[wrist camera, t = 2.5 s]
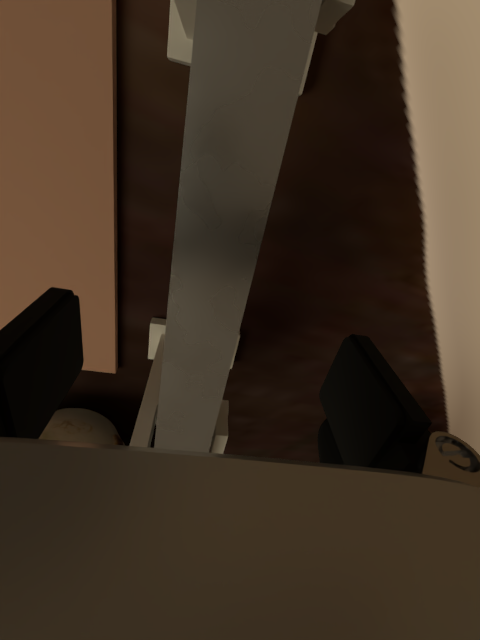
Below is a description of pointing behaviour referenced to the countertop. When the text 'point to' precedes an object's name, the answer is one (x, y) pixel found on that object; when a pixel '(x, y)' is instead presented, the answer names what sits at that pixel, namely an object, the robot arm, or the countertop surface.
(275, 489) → the robot arm
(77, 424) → the sugar bowl
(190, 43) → the shelf brackets
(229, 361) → the steel rail
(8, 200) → the terracotta mat
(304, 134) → the countertop surface
